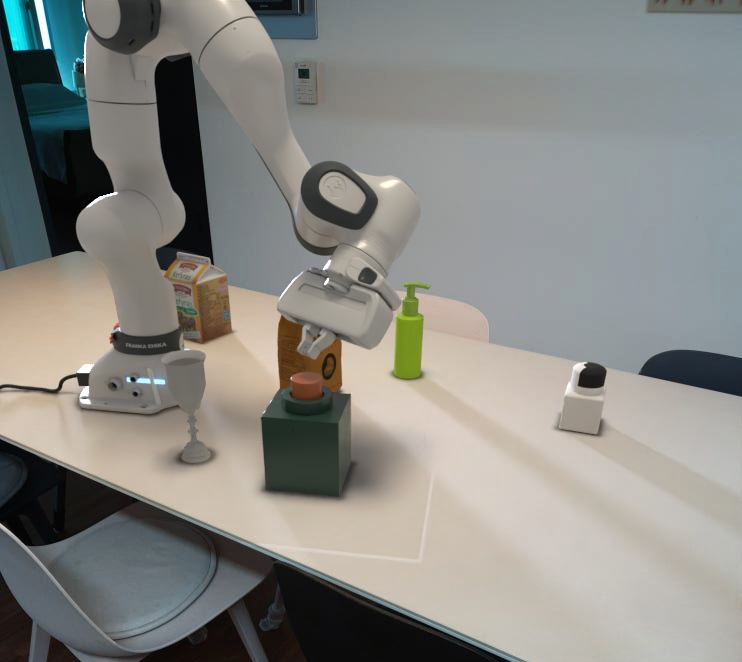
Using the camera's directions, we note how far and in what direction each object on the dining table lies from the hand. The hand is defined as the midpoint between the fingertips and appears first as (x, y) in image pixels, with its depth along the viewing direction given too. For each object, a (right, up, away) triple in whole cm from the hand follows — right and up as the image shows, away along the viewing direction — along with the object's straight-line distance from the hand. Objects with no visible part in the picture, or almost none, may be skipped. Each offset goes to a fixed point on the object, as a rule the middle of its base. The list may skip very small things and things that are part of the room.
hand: (305, 355), depth 109 cm
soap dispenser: (+18, +5, +50) cm, 54 cm away
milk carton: (-32, +19, +71) cm, 80 cm away
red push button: (0, -6, +3) cm, 7 cm away
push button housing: (0, -18, +11) cm, 21 cm away
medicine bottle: (+50, -8, +30) cm, 59 cm away
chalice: (-21, -15, +16) cm, 30 cm away
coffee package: (-2, -1, +39) cm, 39 cm away
